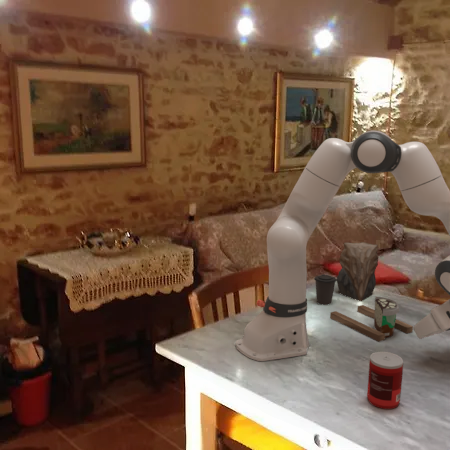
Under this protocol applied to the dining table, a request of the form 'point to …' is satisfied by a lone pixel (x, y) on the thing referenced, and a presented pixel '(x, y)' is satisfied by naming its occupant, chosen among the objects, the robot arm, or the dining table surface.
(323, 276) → the coffee cup
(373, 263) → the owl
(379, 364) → the canned food
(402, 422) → the dining table surface
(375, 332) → the walnut bay
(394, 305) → the food container
